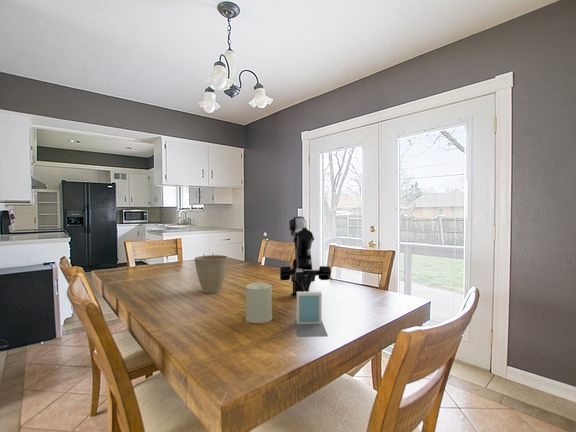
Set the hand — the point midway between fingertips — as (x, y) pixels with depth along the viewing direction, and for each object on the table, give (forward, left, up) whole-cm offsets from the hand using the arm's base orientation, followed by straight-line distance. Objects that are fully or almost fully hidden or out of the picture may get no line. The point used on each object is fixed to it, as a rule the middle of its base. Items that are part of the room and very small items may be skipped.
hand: (306, 293), depth 103 cm
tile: (+4, -6, -7) cm, 11 cm away
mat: (+7, -9, -8) cm, 14 cm away
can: (-12, -12, -8) cm, 19 cm away
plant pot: (-52, +3, -8) cm, 53 cm away
